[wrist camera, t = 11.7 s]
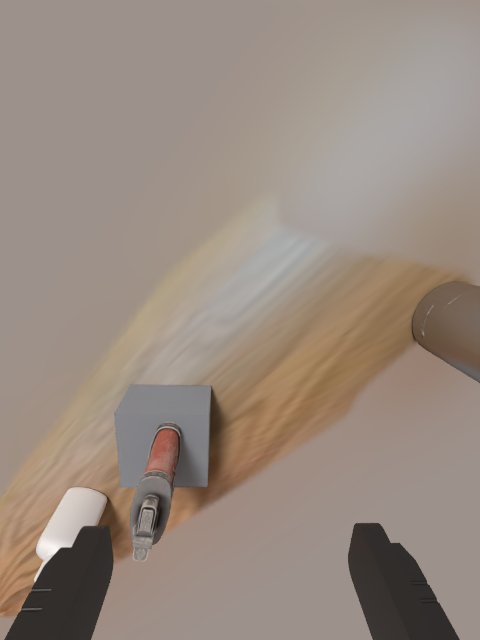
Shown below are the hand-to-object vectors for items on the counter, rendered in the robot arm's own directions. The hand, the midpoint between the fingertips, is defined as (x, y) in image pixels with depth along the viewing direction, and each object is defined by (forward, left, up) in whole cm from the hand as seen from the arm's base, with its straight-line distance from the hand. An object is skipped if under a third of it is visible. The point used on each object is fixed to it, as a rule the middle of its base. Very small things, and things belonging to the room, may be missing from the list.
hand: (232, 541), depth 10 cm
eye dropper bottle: (+18, +28, -27) cm, 43 cm away
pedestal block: (+6, +15, -27) cm, 31 cm away
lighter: (+6, +15, -21) cm, 26 cm away
